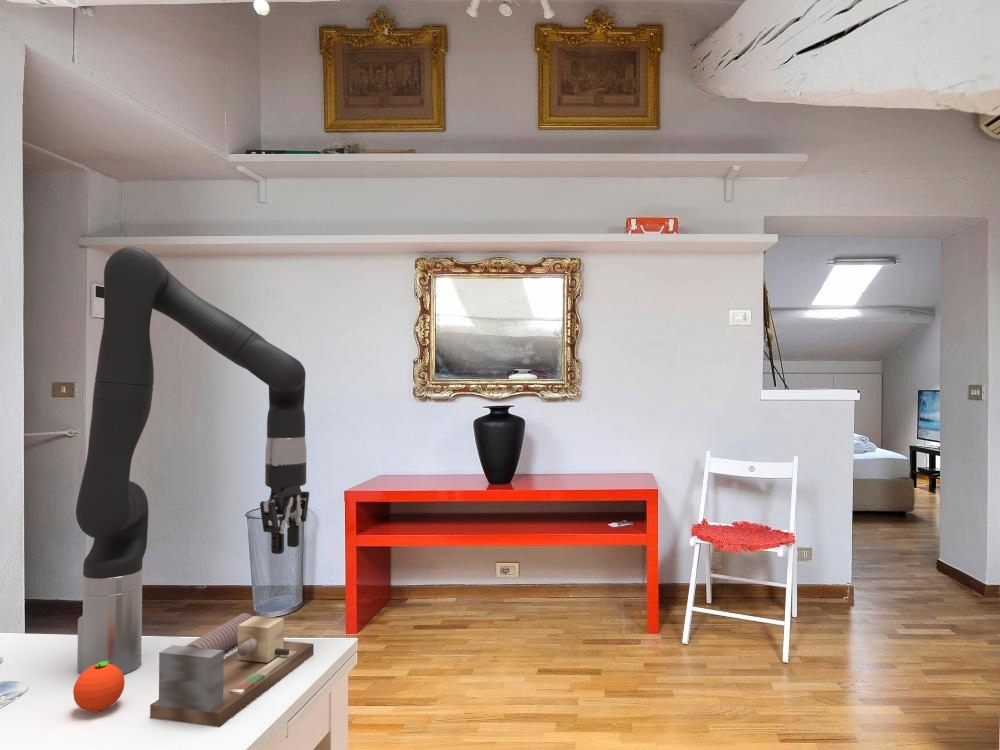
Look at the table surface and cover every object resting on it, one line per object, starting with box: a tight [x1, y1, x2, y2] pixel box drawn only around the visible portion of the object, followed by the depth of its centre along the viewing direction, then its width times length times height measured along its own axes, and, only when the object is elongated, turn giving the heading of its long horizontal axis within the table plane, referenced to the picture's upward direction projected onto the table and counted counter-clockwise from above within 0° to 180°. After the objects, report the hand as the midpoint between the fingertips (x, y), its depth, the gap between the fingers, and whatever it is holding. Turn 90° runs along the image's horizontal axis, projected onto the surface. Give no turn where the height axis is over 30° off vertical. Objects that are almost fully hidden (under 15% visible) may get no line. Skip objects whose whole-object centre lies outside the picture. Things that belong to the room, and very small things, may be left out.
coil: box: [186, 612, 253, 653], centre depth 129 cm, size 5×5×18 cm
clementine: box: [72, 661, 125, 713], centre depth 106 cm, size 8×7×7 cm
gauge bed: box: [149, 640, 315, 728], centre depth 115 cm, size 12×28×10 cm, turn 167°
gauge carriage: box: [236, 615, 289, 663], centre depth 119 cm, size 8×8×6 cm
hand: (285, 549), depth 129 cm, fingers open, 5 cm apart
